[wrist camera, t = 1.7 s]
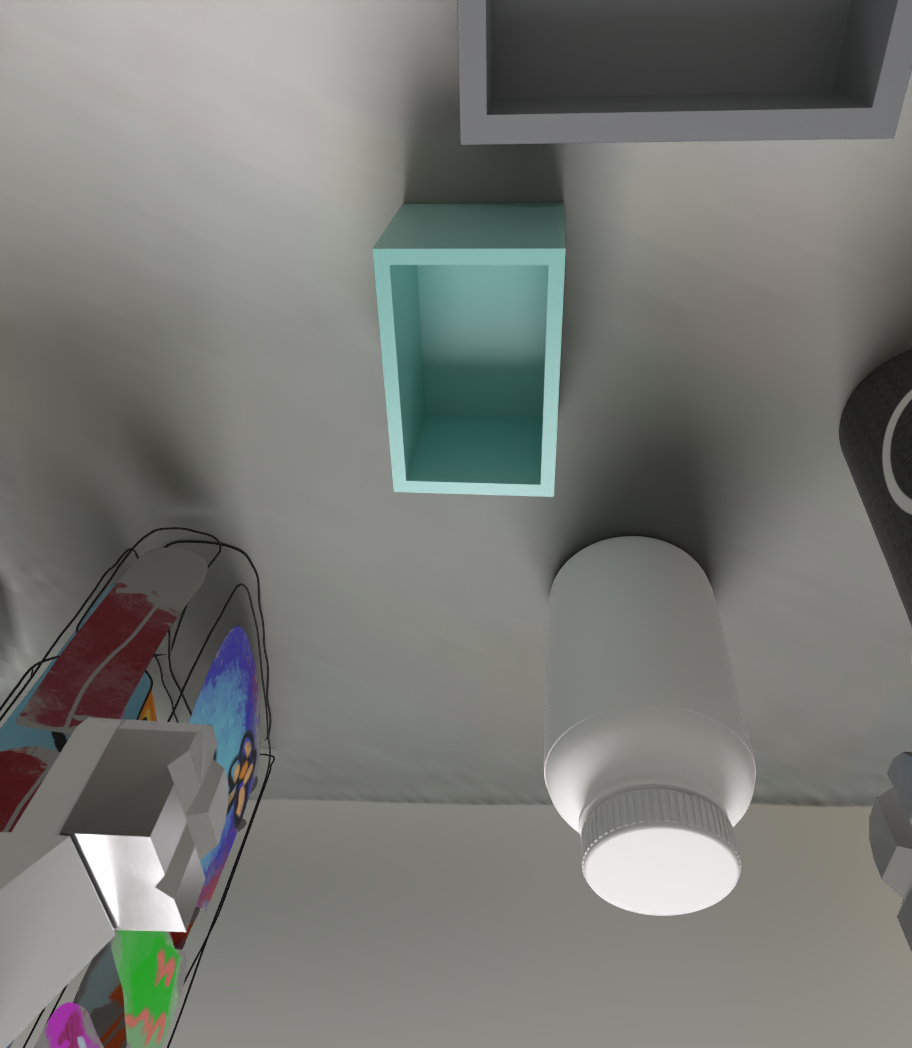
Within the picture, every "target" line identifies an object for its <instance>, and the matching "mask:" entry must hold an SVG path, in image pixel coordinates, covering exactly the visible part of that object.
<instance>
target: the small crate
mask: <svg viewBox="0 0 912 1048" xmlns="http://www.w3.org/2000/svg"><path fill="white" fill-rule="evenodd" d="M565 252H566V243H565V213H564V203H430V204H402V206H401V207H400V209H399V210H398V212H397V213H396V215H395V216H394V218H393V219H392V221H391V222H390V224H389V225H388V227H387V228H386V230H385V231H384V233H383V234H382V236H381V237H380V239H379V240H378V241H377V243H376V244H375V246H374V247H373V260H374V271H375V282H376V294H377V305H378V316H379V328H380V339H381V350H382V362H383V373H384V384H385V396H386V407H387V418H388V430H389V441H390V452H391V464H392V475H393V486H394V492H415V493H448V494H480V495H513V496H545V497H554V482H555V461H556V440H557V419H558V399H559V378H560V357H561V336H562V315H563V294H564V273H565Z"/></svg>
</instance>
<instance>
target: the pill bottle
mask: <svg viewBox="0 0 912 1048" xmlns="http://www.w3.org/2000/svg"><path fill="white" fill-rule="evenodd" d="M544 777H545V782H546V786H547V789H548V792H549V795H550V797H551V800H552V802H553V804H554V806H555V808H556V809H557V811H558V812H559V814H560V815H561V816H562V817H563V819H564V820H565V821H566V822H567V823H568V824H569V825H570V826H571V827H572V828H574V829H575V830H576V831H577V832H579V833H580V836H581V855H582V869H583V873H584V877H585V878H586V881H587V882H588V884H589V885H590V887H591V888H592V889H593V890H594V891H595V892H596V893H597V894H598V895H599V896H600V897H601V898H603V899H604V900H606V901H607V902H609V903H611V904H613V905H615V906H617V907H620V908H622V909H625V910H628V911H632V912H636V913H641V914H648V915H678V914H685V913H691V912H695V911H698V910H701V909H704V908H707V907H709V906H711V905H713V904H715V903H717V902H718V901H720V900H721V899H723V898H724V897H726V896H727V895H728V894H729V893H730V892H731V890H732V889H733V888H734V886H735V885H736V883H737V881H738V878H739V876H740V872H741V861H740V856H739V851H738V847H737V842H736V837H735V833H734V829H733V827H734V826H735V825H736V824H737V822H738V821H739V820H740V819H741V818H742V816H743V815H744V814H745V812H746V810H747V808H748V806H749V804H750V802H751V799H752V796H753V792H754V786H755V778H756V768H755V761H754V756H753V752H752V747H751V743H750V739H749V735H748V731H747V727H746V723H745V719H744V715H743V711H742V707H741V703H740V699H739V695H738V691H737V687H736V682H735V678H734V674H733V670H732V666H731V662H730V658H729V654H728V650H727V646H726V642H725V638H724V634H723V630H722V626H721V622H720V618H719V614H718V610H717V605H716V601H715V597H714V593H713V590H712V587H711V585H710V583H709V580H708V578H707V576H706V574H705V573H704V571H703V569H702V568H701V567H700V565H699V564H698V563H697V562H696V561H695V560H694V559H693V558H692V557H691V556H690V555H689V554H687V553H686V552H684V551H683V550H681V549H680V548H678V547H676V546H674V545H672V544H670V543H667V542H665V541H662V540H658V539H654V538H649V537H642V536H623V537H615V538H610V539H606V540H602V541H599V542H597V543H594V544H592V545H590V546H588V547H586V548H584V549H582V550H581V551H579V552H578V553H576V554H575V555H574V556H572V557H571V558H570V559H569V560H568V561H567V562H566V563H565V564H564V565H563V567H562V568H561V569H560V571H559V572H558V574H557V575H556V577H555V579H554V582H553V584H552V587H551V591H550V596H549V601H548V621H547V660H546V698H545V737H544Z"/></svg>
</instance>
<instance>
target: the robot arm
mask: <svg viewBox="0 0 912 1048" xmlns="http://www.w3.org/2000/svg"><path fill="white" fill-rule="evenodd" d="M217 745H218V743H217V740H216V737H215V734H214V731H213V728H212V726H210V725H204V724H190V723H175V722H161V721H146V720H131V719H127V720H126V719H109V718H91V717H88V718H87V719H86V720H84V721H83V722H82V723H81V724H79V725H78V726H77V727H76V728H75V730H74V731H73V733H72V734H71V736H70V738H69V739H68V741H67V743H66V744H65V746H64V747H63V749H62V751H61V752H60V754H59V756H58V757H57V759H56V760H55V762H54V764H53V765H52V767H51V769H50V770H49V772H48V773H47V775H46V777H45V778H44V780H43V782H42V783H41V785H40V787H39V788H38V790H37V791H36V793H35V795H34V796H33V798H32V800H31V801H30V803H29V804H28V806H27V808H26V809H25V811H24V813H23V814H22V816H21V817H20V819H19V821H18V822H17V824H16V826H15V827H14V829H13V830H12V832H0V1048H6V1047H7V1046H8V1045H9V1044H10V1043H11V1042H12V1041H13V1040H14V1039H15V1038H16V1037H17V1036H18V1035H19V1034H20V1033H21V1032H22V1031H23V1030H24V1029H25V1028H26V1027H27V1025H29V1023H30V1022H31V1021H32V1020H33V1019H34V1018H35V1017H36V1016H37V1015H38V1014H39V1013H40V1012H41V1011H42V1010H43V1009H44V1008H45V1007H46V1006H47V1005H48V1004H49V1003H50V1002H51V1001H52V1000H53V999H54V998H55V997H56V995H58V994H59V992H60V991H61V990H62V989H63V988H64V987H65V986H66V985H67V984H68V983H69V982H70V981H71V980H72V979H73V978H74V977H75V976H76V975H77V974H78V973H79V972H80V971H81V970H82V969H83V968H84V967H85V966H86V965H87V963H89V962H90V961H91V960H92V958H93V957H94V956H95V955H96V954H97V953H98V952H99V951H100V950H101V949H102V948H103V947H104V946H105V945H106V944H107V943H108V942H109V941H110V940H111V939H112V938H113V937H114V936H115V931H114V930H133V931H167V932H186V931H187V929H188V926H189V923H190V920H191V918H192V915H193V912H194V909H195V907H196V904H197V901H198V898H199V896H200V893H201V890H202V887H203V885H204V882H205V876H204V872H203V869H202V866H201V863H200V860H201V859H202V858H203V857H205V856H206V855H207V854H208V853H209V852H210V851H211V850H213V849H214V848H215V847H216V846H217V845H218V843H219V840H220V837H221V834H222V831H223V828H224V825H225V820H226V814H227V807H228V801H229V794H228V780H227V776H226V772H225V768H223V767H222V766H221V765H220V764H219V763H217V762H216V761H215V760H214V759H213V755H214V753H215V750H216V748H217ZM887 774H888V776H889V778H890V780H891V782H892V785H893V788H891V789H889V790H888V791H886V792H885V793H883V794H881V795H880V796H878V797H877V798H876V800H875V803H874V805H873V808H872V811H871V814H870V816H869V841H870V845H871V850H872V854H873V858H874V861H875V864H876V866H877V869H878V871H879V874H880V877H881V879H882V880H883V881H884V882H885V883H886V884H887V885H888V886H890V887H891V888H892V889H893V890H894V891H895V892H896V893H898V894H899V895H900V896H901V897H902V898H903V901H902V903H901V906H900V909H899V912H898V915H897V918H898V921H899V923H900V926H901V928H902V930H903V933H904V935H905V937H906V940H907V942H908V945H909V947H910V950H911V952H912V752H902V753H901V754H899V755H898V756H896V757H895V758H894V759H893V761H892V763H891V765H890V768H889V770H888V772H887Z"/></svg>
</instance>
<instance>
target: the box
mask: <svg viewBox="0 0 912 1048" xmlns="http://www.w3.org/2000/svg"><path fill="white" fill-rule="evenodd" d="M164 529H182V530H188V531H192V532H196V533H200V534H204V535H208V536H211V537H213V538H214V539H215V540H216V541H217V542H218V543H214V542H202V541H176V542H172V543H170V544H168V545H166V546H165V547H164V548H160V549H155V550H152V551H150V552H148V553H146V554H144V555H143V556H142V557H140V558H139V557H138V555H137V553H136V551H135V550H134V548H135V547H136V546H137V545H138V544H139V543H140V542H141V541H142V540H143V539H144V538H146V537H147V536H148V535H150V534H152V533H153V532H155V531H158V530H164ZM185 542H188V543H207V544H216V545H219V552H218V553H217V555H216V556H215V557H214V559H213V560H212V561H211V562H210V564H209V565H207V562H206V560H205V559H204V558H203V557H202V556H200V555H198V554H196V553H194V552H192V551H189V550H186V549H181V548H171V547H170V548H166V547H168V546H169V545H172V544H175V543H185ZM221 546H226V547H229V548H232V549H235V550H237V551H239V552H241V553H242V554H244V555H245V556H246V557H247V559H248V561H249V562H250V564H251V566H252V568H253V569H254V571H255V574H256V577H257V582H258V604H259V610H260V615H261V619H262V626H263V645H264V653H265V657H266V662H267V691H266V695H265V688H264V682H263V672H262V660H261V651H260V641H259V633H258V627H257V622H256V618H255V614H254V610H253V605H252V601H251V596H250V593H249V590H248V588H247V587H246V586H245V585H244V584H239V585H237V586H236V587H235V589H234V590H233V592H232V594H231V596H230V597H229V599H228V601H227V603H226V604H225V606H224V608H223V610H222V612H221V614H220V616H219V618H218V620H217V621H216V623H215V624H214V626H213V628H212V629H211V631H210V633H209V635H208V637H207V639H206V641H205V643H204V645H203V647H202V649H201V651H200V653H199V655H198V657H197V659H196V661H195V663H194V665H193V667H192V669H191V671H190V673H189V675H188V677H187V680H186V682H185V684H184V686H183V688H182V691H181V689H180V687H179V686H178V684H177V682H176V680H175V678H174V676H173V673H172V670H171V664H170V655H171V654H170V630H169V629H170V627H171V626H172V624H173V623H174V621H175V620H176V618H177V617H178V616H179V614H180V613H181V612H182V610H183V609H184V610H183V613H182V615H181V618H180V621H179V623H178V626H177V629H176V632H175V636H174V639H173V643H172V648H173V645H174V642H175V639H176V636H177V633H178V630H179V626H180V624H181V621H182V618H183V615H184V613H185V610H186V608H187V605H188V603H189V601H190V600H191V599H192V598H193V596H194V595H195V594H196V592H197V591H198V590H199V588H200V587H201V586H202V584H203V582H204V581H205V578H206V576H207V571H208V568H209V567H210V565H211V564H212V563H213V562H214V560H215V559H216V558H217V556H218V555H219V554H220V552H221ZM129 550H130V551H129ZM128 551H129V552H128ZM132 551H134V552H135V555H136V557H137V559H138V560H137V561H136V562H135V563H134V564H133V565H132V566H131V567H130V568H129V569H128V570H127V571H126V572H125V574H124V575H123V576H122V577H121V578H120V580H119V581H118V582H117V583H114V584H112V585H111V586H109V587H108V588H107V589H106V590H105V591H104V589H105V588H106V587H107V585H108V584H109V582H110V581H111V580H112V578H113V577H114V575H115V574H116V572H117V570H118V569H119V567H120V566H121V564H122V563H123V562H124V560H125V559H126V558H127V557H128V555H129V554H130V553H131V552H132ZM127 552H128V554H127V555H126V556H125V557H124V559H123V560H122V561H121V563H120V564H119V565H118V567H117V568H116V570H115V572H114V573H113V575H112V576H111V577H110V579H109V580H108V582H107V583H106V585H105V586H104V587H103V589H102V590H101V591H100V593H99V594H98V595H97V597H96V598H95V599H94V601H93V602H92V604H91V605H90V607H89V608H88V610H87V611H86V613H85V614H84V616H83V617H82V619H81V620H80V621H79V623H78V625H77V627H76V631H75V632H74V633H73V635H72V636H71V637H70V639H69V640H68V641H67V643H66V644H65V645H64V647H63V648H62V649H61V650H60V652H59V653H58V654H57V656H55V657H51V658H48V659H46V657H47V656H48V654H49V653H50V651H51V650H52V648H53V647H54V646H55V644H56V643H57V641H58V640H59V639H60V637H61V636H62V635H63V633H64V632H65V631H66V629H67V628H68V627H69V626H70V625H71V623H72V622H73V621H74V619H75V618H76V617H77V616H78V614H79V613H80V611H81V610H82V609H83V607H84V606H85V604H86V603H87V601H88V600H89V599H90V597H91V596H92V594H93V593H94V592H95V590H96V589H97V587H98V586H99V584H100V583H101V581H102V580H103V578H104V577H105V575H106V574H107V573H108V572H109V571H110V570H111V569H113V568H114V567H115V566H116V565H117V563H118V562H119V561H120V559H121V558H122V557H123V556H124V555H125V554H126V553H127ZM240 585H242V586H244V587H245V588H246V590H247V592H248V595H249V599H250V604H251V608H252V613H253V617H254V621H255V625H256V630H257V637H258V647H259V655H260V666H261V677H262V686H263V692H264V699H265V707H266V719H267V738H266V740H267V739H268V743H269V755H267V754H260V707H259V696H258V686H257V676H256V668H255V662H254V658H253V654H252V651H251V647H250V644H249V640H248V637H247V635H246V633H245V631H244V630H243V628H241V627H238V626H236V627H234V628H233V629H232V630H231V631H230V632H229V633H228V635H227V636H226V638H225V639H224V641H223V643H222V644H221V646H220V648H219V650H218V652H217V654H216V656H215V658H214V660H213V662H212V665H211V667H210V669H209V672H208V674H207V677H206V679H205V682H204V684H203V687H202V689H201V692H200V694H199V697H198V699H197V702H196V705H195V707H194V710H193V713H192V714H191V712H190V710H189V707H188V705H187V703H186V700H185V698H184V696H183V691H184V689H185V686H186V684H187V682H188V680H189V678H190V675H191V673H192V671H193V669H194V667H195V665H196V663H197V661H198V659H199V657H200V655H201V653H202V651H203V649H204V647H205V645H206V643H207V641H208V639H209V637H210V635H211V633H212V631H213V630H214V628H215V626H216V625H217V623H218V621H219V620H220V618H221V616H222V614H223V612H224V610H225V608H226V606H227V604H228V603H229V601H230V599H231V597H232V596H233V594H234V592H235V591H236V589H237V588H238V587H239V586H240ZM103 591H104V592H103ZM102 592H103V593H102ZM101 593H102V594H101ZM100 595H101V596H100ZM99 596H100V597H99ZM98 597H99V598H98ZM97 599H98V600H97ZM96 600H97V601H96ZM95 601H96V602H95ZM94 603H95V604H94ZM93 604H94V605H93ZM91 607H92V608H91ZM89 610H90V611H89ZM87 613H88V614H87ZM167 632H168V634H169V648H168V659H169V668H170V672H171V675H172V677H173V680H174V682H175V684H176V685H177V687H178V689H179V691H180V696H179V698H178V700H177V702H176V704H175V707H173V701H172V698H171V696H170V694H169V692H168V690H167V688H166V687H165V684H164V681H163V675H162V669H161V666H160V663H159V661H158V659H157V656H160V655H167V654H155V652H156V650H157V648H158V646H159V645H160V643H161V641H162V640H163V638H164V636H165V635H166V633H167ZM172 648H171V652H172ZM154 656H155V658H156V660H157V662H158V665H159V668H160V672H161V679H162V683H163V686H164V688H165V690H166V692H167V694H168V696H169V698H170V700H171V703H172V709H173V711H172V713H171V715H170V717H169V719H168V721H167V722H170V720H171V718H172V716H173V713H174V716H175V718H176V721H177V723H178V719H177V717H176V715H175V712H174V711H175V709H176V707H177V705H178V703H179V700H180V698H181V696H182V697H183V700H184V702H185V704H186V707H187V709H188V711H189V713H190V715H191V718H190V721H189V723H190V724H204V725H210V726H212V728H213V731H214V734H215V737H216V740H217V743H218V745H217V748H216V750H215V753H214V755H213V759H214V760H215V761H216V762H217V763H219V764H220V765H221V766H222V767H223V768H225V772H226V776H227V780H228V794H229V801H228V807H227V814H226V820H225V825H224V828H223V831H222V834H221V837H220V840H219V843H218V845H217V846H216V847H215V848H214V849H213V850H211V851H210V852H209V853H208V854H207V855H206V856H205V857H203V858H202V859H201V860H200V863H201V866H202V869H203V872H204V876H205V882H204V885H203V887H202V890H201V893H200V896H199V898H198V901H197V904H196V907H195V909H194V912H193V915H192V918H191V920H190V923H189V926H188V929H187V931H186V932H167V931H133V930H114V931H115V936H114V937H113V938H112V939H111V940H110V941H109V942H108V943H107V944H106V945H105V946H104V947H103V948H102V949H101V950H100V951H99V952H98V953H97V954H96V955H95V956H94V958H93V959H92V962H91V963H90V965H89V967H88V969H87V972H86V973H85V976H84V978H83V980H82V982H81V985H80V987H79V989H78V991H77V994H76V996H75V999H74V1001H73V1003H65V1004H63V1005H61V1006H60V1007H59V1008H58V1009H56V1011H55V1012H54V1010H55V1008H56V1006H57V1004H58V1002H59V1000H60V999H61V996H62V995H63V993H64V991H65V989H66V987H67V985H68V984H67V985H66V986H65V987H64V989H63V991H62V993H61V995H60V997H59V999H58V1001H57V1003H56V1005H55V1007H54V1008H53V1011H52V1012H51V1014H50V1017H49V1018H48V1020H47V1023H46V1025H45V1027H44V1029H43V1031H42V1033H41V1035H40V1037H39V1039H38V1041H37V1043H36V1046H35V1048H126V1046H127V1048H162V1046H163V1043H164V1041H165V1038H166V1035H167V1032H168V1029H169V1027H170V1024H171V1021H172V1019H173V1016H174V1013H175V1010H176V1007H177V1004H178V1001H179V998H180V995H181V991H182V988H183V985H184V983H185V981H186V979H187V977H188V975H189V973H190V971H191V969H192V967H193V965H194V964H195V962H196V960H197V958H198V956H199V954H200V952H201V954H200V957H199V960H198V963H197V966H196V969H195V971H194V974H193V978H192V980H191V983H190V986H189V989H188V992H187V994H186V997H185V1000H184V1003H183V1007H182V1009H181V1011H180V1014H179V1017H178V1020H177V1022H176V1025H175V1028H174V1031H173V1033H172V1036H171V1038H170V1041H169V1043H168V1046H167V1048H169V1046H170V1043H171V1041H172V1038H173V1035H174V1033H175V1030H176V1027H177V1024H178V1022H179V1019H180V1017H181V1014H182V1011H183V1008H184V1005H185V1003H186V1000H187V997H188V994H189V991H190V988H191V985H192V982H193V980H194V977H195V974H196V971H197V968H198V965H199V962H200V959H201V956H202V954H203V951H204V948H205V945H206V943H207V940H208V937H209V935H210V932H211V931H212V928H213V927H214V925H215V922H216V920H217V918H218V916H219V913H220V911H221V908H222V906H223V903H224V900H225V898H226V895H227V892H228V889H229V887H230V884H231V881H232V878H233V875H234V873H235V870H236V866H237V864H238V861H239V859H240V856H241V853H242V850H243V848H244V845H245V842H246V839H247V836H248V834H249V831H250V828H251V825H252V822H253V819H254V817H255V814H256V811H257V808H258V805H259V803H260V800H261V797H262V794H263V791H264V789H265V786H266V783H267V780H268V778H269V775H270V772H271V766H272V764H273V763H274V760H275V758H274V756H272V755H271V748H270V740H269V734H270V728H271V714H270V708H269V704H268V682H269V666H268V659H267V655H266V649H265V632H264V622H263V616H262V612H261V607H260V589H259V578H258V574H257V572H256V570H255V568H254V566H253V564H252V562H251V561H250V559H249V557H248V556H247V555H246V554H245V553H244V552H243V551H241V550H239V549H237V548H234V547H232V546H228V545H225V544H220V542H219V541H218V539H217V538H216V537H214V536H213V535H210V534H207V533H203V532H199V531H195V530H191V529H187V528H179V527H172V528H159V529H156V530H153V531H151V532H150V533H148V534H147V535H145V536H144V537H143V538H141V539H140V540H139V541H138V542H137V543H136V544H135V545H134V547H133V548H129V549H128V550H126V551H125V552H124V553H123V554H122V555H121V557H120V558H119V559H118V560H117V562H116V563H115V564H114V565H113V566H112V567H111V568H110V569H108V570H107V571H106V572H105V574H104V575H103V576H102V578H101V579H100V581H99V582H98V584H97V585H96V587H95V588H94V590H93V591H92V593H91V594H90V595H89V597H88V598H87V600H86V601H85V602H84V604H83V605H82V607H81V608H80V610H79V611H78V612H77V614H76V615H75V616H74V618H73V619H72V620H71V621H70V623H69V624H68V625H67V626H66V628H65V629H64V630H63V631H62V633H61V634H60V635H59V637H58V638H57V639H56V641H55V642H54V643H53V645H52V646H51V648H50V649H49V651H48V652H47V653H46V655H45V656H44V658H43V659H42V661H40V662H38V663H36V664H35V665H33V666H32V667H31V668H30V669H28V671H27V672H26V673H25V674H24V675H23V677H22V678H21V680H20V681H19V683H18V684H17V685H16V686H15V688H14V689H13V691H12V692H11V693H10V694H9V696H8V697H7V699H6V700H5V701H4V703H3V704H2V705H1V707H0V711H1V710H2V708H3V707H4V705H5V704H6V703H7V701H8V700H9V698H10V697H11V696H12V694H13V693H14V692H15V690H16V689H17V688H18V686H19V685H20V684H21V682H22V681H23V679H24V678H25V677H26V675H27V674H28V673H29V672H30V671H31V670H32V672H31V677H30V678H29V680H28V681H27V683H26V684H25V685H24V687H23V688H22V689H21V691H20V692H19V693H18V695H17V696H16V697H15V699H14V700H13V701H12V703H11V704H10V705H9V707H8V708H7V709H6V711H5V712H4V713H3V715H2V716H1V717H0V721H1V720H2V718H3V717H4V716H5V714H6V713H7V712H8V710H9V709H10V708H11V706H12V705H13V704H14V702H15V701H16V700H17V698H18V697H19V696H20V694H21V693H22V692H23V690H24V689H25V688H26V686H27V685H28V683H29V682H30V681H31V679H32V678H33V676H34V675H35V674H36V672H37V671H38V669H39V668H40V666H41V665H42V663H43V662H46V661H49V660H52V659H53V661H52V662H51V663H50V665H49V666H48V667H47V669H46V670H45V671H44V673H43V674H42V675H41V677H40V678H39V679H38V681H37V682H36V683H35V684H34V686H33V687H32V688H31V690H30V691H29V692H28V694H27V695H26V696H25V697H24V699H23V700H22V701H21V703H20V704H19V705H18V706H17V708H16V709H15V710H14V712H13V713H12V714H11V715H10V717H9V718H8V719H7V721H6V722H5V723H4V725H3V726H2V727H1V729H0V832H12V830H13V829H14V827H15V826H16V824H17V822H18V821H19V819H20V817H21V816H22V814H23V813H24V811H25V809H26V808H27V806H28V804H29V803H30V801H31V800H32V798H33V796H34V795H35V793H36V791H37V790H38V788H39V787H40V785H41V783H42V782H43V780H44V778H45V777H46V775H47V773H48V772H49V770H50V769H51V767H52V765H53V764H54V762H55V760H56V759H57V757H58V756H59V754H60V752H61V751H62V749H63V747H64V746H65V744H66V743H67V741H68V739H69V738H70V736H71V734H72V733H73V731H74V730H75V728H76V727H77V726H78V725H79V724H81V723H82V722H83V721H84V720H86V719H87V718H88V717H91V718H109V719H126V720H127V719H131V720H146V721H157V716H156V710H155V705H154V700H153V695H152V686H153V680H152V677H151V676H150V674H149V673H148V671H147V666H148V664H149V662H150V661H151V659H152V657H154ZM37 665H38V667H37V668H36V670H35V671H34V673H33V668H34V667H36V666H37ZM32 673H33V674H32ZM149 679H150V681H151V685H150V681H149ZM266 699H267V703H266ZM267 706H268V710H269V717H270V726H269V730H268V712H267ZM260 755H266V756H269V764H268V769H267V773H266V777H265V780H264V783H263V786H262V789H261V792H260V795H259V797H258V800H257V803H256V806H255V809H254V812H253V814H252V817H251V820H250V823H249V826H248V828H247V831H246V834H245V837H244V839H243V842H242V845H241V848H240V850H239V853H238V856H237V858H236V861H235V864H234V866H233V869H232V872H231V875H230V877H229V880H228V883H227V885H226V888H225V891H224V893H223V896H222V899H221V901H220V904H219V906H218V909H217V912H216V914H215V917H214V920H213V922H212V924H211V927H210V930H209V933H208V935H207V937H206V939H205V941H204V943H203V945H202V947H201V949H200V951H199V953H198V955H197V957H196V958H195V960H194V962H193V964H192V966H191V968H190V970H189V972H188V974H187V976H186V955H185V952H184V951H183V950H182V949H183V946H184V944H185V941H186V939H187V936H188V934H189V931H190V929H191V927H192V925H193V923H194V921H195V919H196V917H197V915H198V913H199V910H200V908H202V907H204V906H205V912H206V910H207V907H208V905H209V902H210V900H211V897H212V895H213V892H214V890H215V887H216V885H217V883H218V880H219V877H220V875H221V873H222V870H223V867H224V865H225V863H226V860H227V858H228V855H229V852H230V850H231V847H232V844H233V842H234V839H235V837H236V834H237V832H238V831H240V830H241V829H242V828H244V826H245V825H246V821H245V820H244V819H242V817H243V814H244V810H245V808H246V804H247V801H248V798H249V795H250V794H251V793H252V791H253V790H254V789H255V787H256V785H257V782H258V778H257V776H256V774H257V769H258V764H259V756H260ZM271 757H273V762H272V763H271V765H270V758H271ZM269 766H270V771H269ZM268 771H269V774H268ZM267 775H268V777H267ZM231 876H232V877H231ZM227 887H228V888H227ZM224 895H225V896H224ZM223 898H224V899H223ZM221 903H222V904H221ZM220 906H221V907H220ZM219 908H220V909H219ZM218 911H219V912H218ZM217 913H218V914H217ZM216 916H217V917H216ZM185 976H186V978H185ZM45 1008H46V1007H45ZM45 1008H44V1009H43V1010H42V1012H41V1013H40V1015H39V1017H38V1019H37V1021H36V1023H35V1025H34V1027H33V1029H32V1031H31V1033H30V1035H29V1037H28V1039H27V1040H26V1042H25V1044H24V1046H23V1048H25V1046H26V1044H27V1042H28V1040H29V1039H30V1037H31V1035H32V1033H33V1031H34V1029H35V1027H36V1025H37V1023H38V1021H39V1019H40V1017H41V1015H42V1013H43V1012H44V1010H45ZM53 1012H54V1013H53ZM13 1041H14V1040H13ZM13 1041H12V1042H11V1043H10V1044H9V1045H8V1046H7V1047H6V1048H10V1047H11V1045H12V1043H13Z"/></svg>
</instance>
